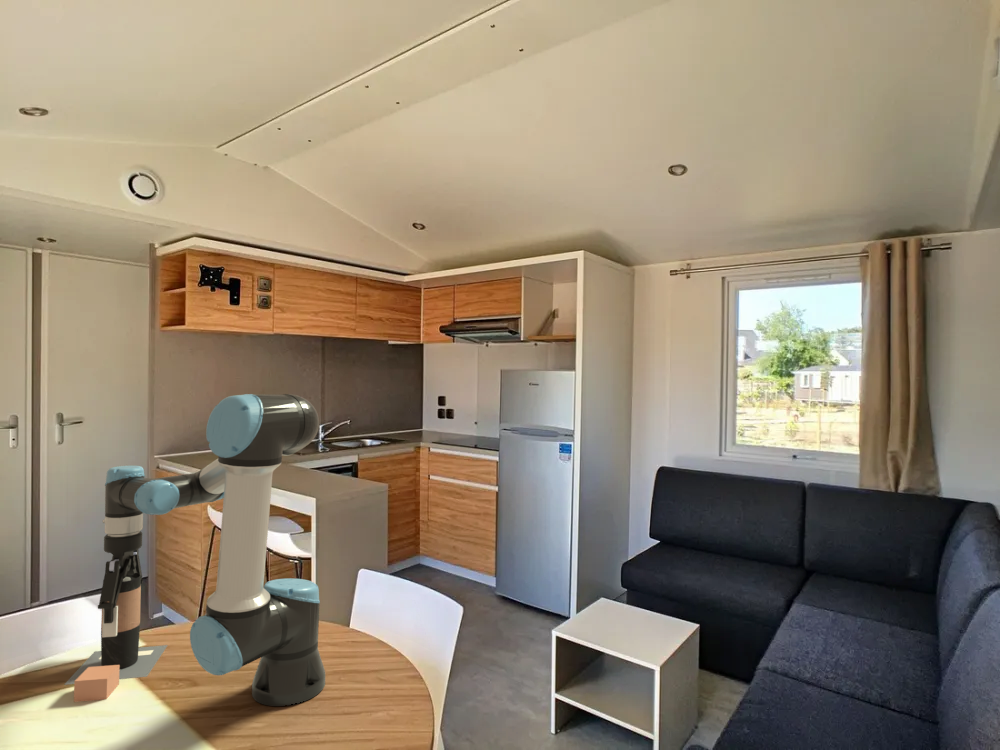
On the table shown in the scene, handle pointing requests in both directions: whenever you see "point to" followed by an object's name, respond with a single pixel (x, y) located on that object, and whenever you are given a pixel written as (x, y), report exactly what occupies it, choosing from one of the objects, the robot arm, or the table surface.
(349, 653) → the table surface
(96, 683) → the terracotta block
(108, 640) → the travel mug
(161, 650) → the letter mat
